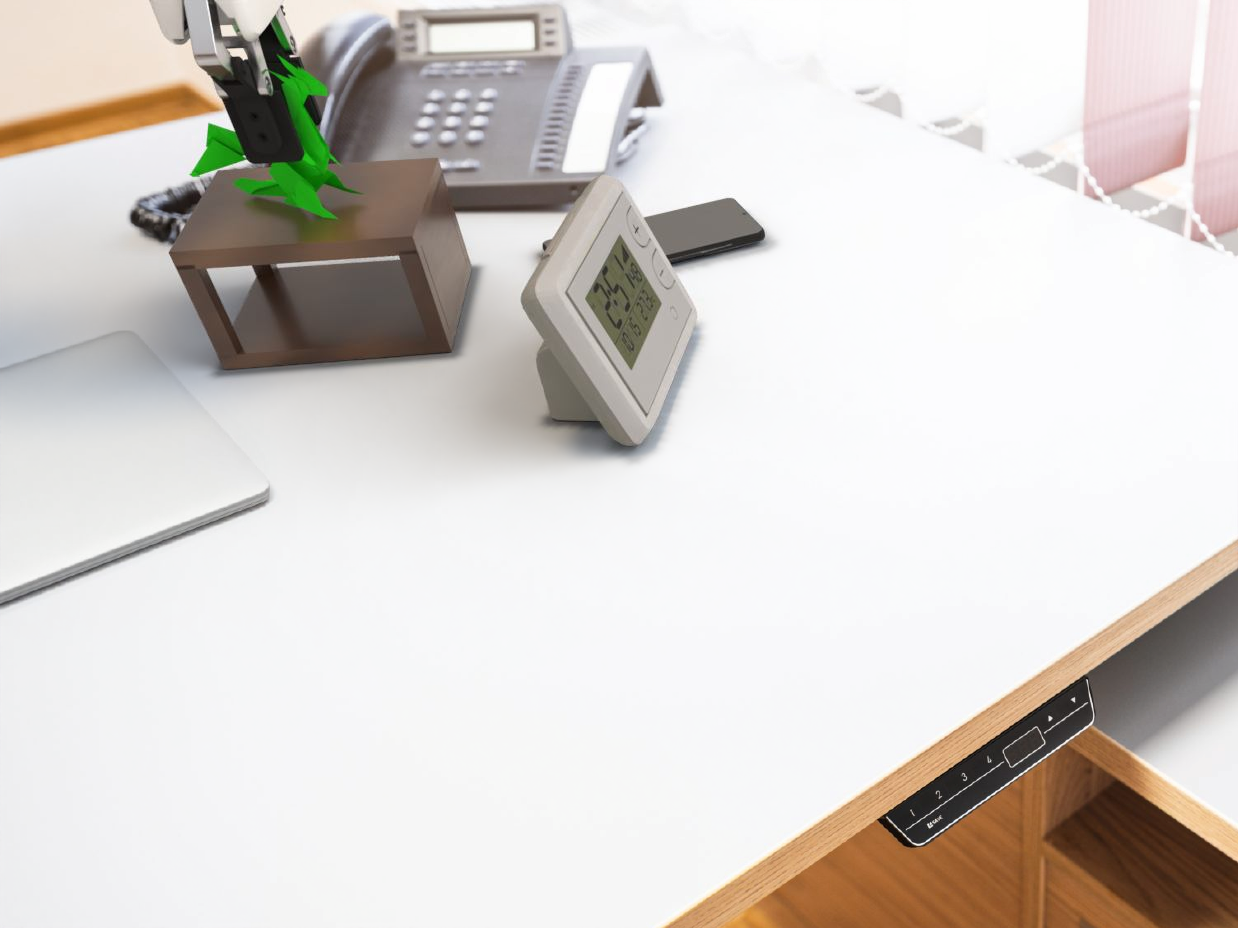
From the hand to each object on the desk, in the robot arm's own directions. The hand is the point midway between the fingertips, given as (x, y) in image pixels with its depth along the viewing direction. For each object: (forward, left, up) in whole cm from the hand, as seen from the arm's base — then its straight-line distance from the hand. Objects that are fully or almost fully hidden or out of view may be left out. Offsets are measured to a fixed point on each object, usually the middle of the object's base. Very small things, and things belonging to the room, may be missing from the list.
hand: (286, 139), depth 82 cm
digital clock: (+19, -12, -12) cm, 26 cm away
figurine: (0, 0, -4) cm, 4 cm away
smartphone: (+20, +7, -12) cm, 24 cm away
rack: (0, 0, -12) cm, 12 cm away
